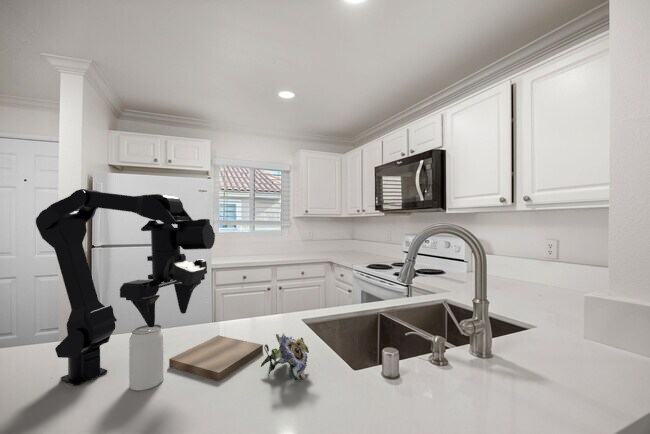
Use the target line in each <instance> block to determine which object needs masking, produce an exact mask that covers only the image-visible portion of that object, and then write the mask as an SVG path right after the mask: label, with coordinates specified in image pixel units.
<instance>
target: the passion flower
mask: <svg viewBox="0 0 650 434" xmlns="http://www.w3.org/2000/svg"><path fill="white" fill-rule="evenodd" d="M275 337H276V339H277V342H278V345H279V347H278V348H271V354H269V351H270V348H269V345H268V344H264V345H263V350H264V351H265V353H266V354H267V356H266V358H265V359H264V360H263V361H262V362H261V365H260V367H263V366H265V365H266V364H267V363H268V362H269V368H268V371H267V377H269V376H270V374H271V372H272V371H273V370H275V369H276V366H277V365H278V364H281V365H283V364H287V363H288V365H289V371H288V374H289V377H290V378H291V379H294V380H295V381H297V382H300V380H305V378H306V374H305V370H306V369H307V366H308V363H307V362H308V357H309V356H308V354H309V353H310V350H309V346H308V345H306V344H305V341H304V338H303V337H300V338H299V337H298V338H297V339H296V338H293V336H290V337H289V336H287V335H285V332H284V333H282V334H281V336H280V334H278V333H276V334H275ZM273 361H274V362H273Z"/></svg>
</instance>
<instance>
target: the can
mask: <svg viewBox="0 0 650 434" xmlns="http://www.w3.org/2000/svg"><path fill="white" fill-rule="evenodd" d="M164 337H165V336H164V331H163V329H162V325H161V324H154V327H148V325H147V324H145V325H141V326H138V327H136V328H134V329H132V330H131V335H130V337H129V344H128V345H129V346H128V348H129V353H128V355H129V357H128V358H129V360H128V363H129V364H128V365H129V367H128V368H129V369H128V373H129V375H128V379H129V381H128V382H129V384H128V385H129V388H130V389H131V390H132V391H133V392H145V391H148V390H152V389H154V388H156V387H158V386H159V385H160V384H161V383H162V381H164V375H165V370H164V369H165V367H164V364H165V361H164V360H165V359H164V357H165V356H164V355H165V354H164V353H165V351H164V350H165V346H164V345H165V344H164V343H165V342H164Z"/></svg>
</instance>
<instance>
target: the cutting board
mask: <svg viewBox="0 0 650 434" xmlns="http://www.w3.org/2000/svg"><path fill="white" fill-rule="evenodd" d="M263 352H264V345H263V344H261V343H257V342H251V341H247V340H242V339H237V338H233V337H227V336H222V335H219V334H218V335H216V336H213V337H212V338H210V339H208V340H207V339H206V341H204V342H203V341H202V342H201V343H199V344H197V345H195V346H193V347H192V348H188V349H187V350H184V351H183V352H181V353H178V354H176V355H174V356H172V357H171V358H169V359H168V367H169V368H171V369H174V370H178V371H180V372H181V371H182V372H183V373H184V372H185V373H188V374H192V375H194V376H198V377H201V378H205V379H208V380H212V381H215V382H220V381H222V380H224V379H225V378H226V377H229V376H230V375H232V374H233V373H234V372H236V371H237V370H239V369H240V368H242V367H243V366H244V365H246V364H248V363H249V362H250V361H252V360H254V359H255V358H257V357H258V356H259V355H261V354H262V353H263Z"/></svg>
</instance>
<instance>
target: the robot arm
mask: <svg viewBox="0 0 650 434" xmlns="http://www.w3.org/2000/svg"><path fill="white" fill-rule="evenodd" d="M98 209H104V210H105V209H106V210H113V211H122V212H129V213H133V214H137V215H139V216H140V217H141V218H142V217H143V218H146V219H149V220H148V221H147V223H146V224H145V225H144V226H142V227H141V228H140V231H142V232H150V239H151V240H150V241H151V255H148V256H147V259H146V260H147V262H151V269H152V272H151V273H150V274H147V279H136V280H132V281H127V282H124V283H122V285H121V286H119V287H120V288H119V298H123V299H125V300H126V301H131V303H132V304H133V306H134V307H135V308H136V309H137V310H138V312H139V314H140V315H141V316H142V319H143V320H144V322H145V323H146V325H148V327H154V324H155V322H156V302H157V300H158V299H159V298H160V296H161V295H160V294H158V292H159V290H160V288H164V287H167V286H171V285H173V286H174V291H175V295H176V299H177V305H178V308H179V311H180V314H183V315H184V314H186V313H187V310H188V308H189V307H188V306H189V304H190V301H191V300H190V299H191V298H192V294H193V291H194V290H195V289H196V288H197V287H198V286H199V285H201V284H202V281H204V280H205V279H206V278H205V275H206V274H208V265H207V264H208V263H207V260H206V259H203V258H200V259H196V260H195V261H187V257H186V255H185V254H186V253H181V249H182V250H184V251H188V250H189V251H191V250H192V251H193V250H210V249H212V248H213V246H214V245H215V241H216V240H215V239H216V234H215V231H214V228H213V226H212V225H211V220H210V219H209V218H199V219H192V218H191V216H190V214H189V213H188V212H187V210H185V208H184V205H183V202H182V200H181V199H180V198H179V197H178V196H173V195H166V194H159V193H156V194H155V193H154V194H153V193H152V194H141V195H127V194H118V193H111V192H104V191H103V192H101V191H99V190H97V189H96V190H95V189H87V188H86V189H85V188H81V189H77V190H75V191H74V192H73V193H72V194H70V195H68V196H67V197H65V198H62V199H60V200H58V201H56V202H54V203H53V202H52V203H51V204H50V205H49V206H48V207H46V208H44V209H42V211H41V212H40V213H38V215H37V217H36V218H35V225H36V228H37V230H38V232H39V235H40V237H41V238H42V240H44V242H46V243H47V244H48V245H49V246H50V247H52V248H53V249H54V251H55V255H56V258H57V263H58V265H59V269H60V273H61V275H62V280H63V284H64V287H65V291H66V295H67V297H68V301H69V305H70V309H71V311H70V314H69V317H68V320H67V323H66V332H67V336H65V338H63V340H62V341H60V342H59V344H58V345H57V346H55V348H54V350H55V353H56V355H57V358H61V359H64V358H65V359H67V362H68V363H67V374H65V375H63V376H61V377H60V380H59V381H62V382H64V383H66V384H69V385H72V386H74V387H75V386H77V387H78V386H79V385H81V384H85V383H86V382H89V381H91V380H93V379H95V378H98V377H100V376H103V375H105V374H107V373H108V369H106V368H102V367H101V346H103V345H105V344H107V343H109V341H110V338H111V335H112V334H113V332H114V330H116V322H117V321H118V319H117V318H116V316H115V313H114V308H113V306H112V305H111V304H109V305H107V306H106V305H104V304H103V303H101V301H99V298H98V294H97V291H96V287H95V284H94V280H93V276H92V273H91V270H90V265H89V263H88V258H87V255H86V252H85V248H84V245H83V244H84V243H83V242H84V240H85V237H86V234H87V230H88V229H87V223H89V222H90V221H91V219H93V218H94V216H95V214H96V211H97V210H98ZM158 221H160V223H159V222H158ZM161 222H162V223H161ZM173 225H177V227H175V226H173Z"/></svg>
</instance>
